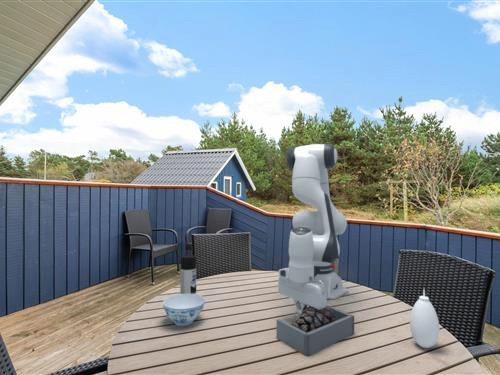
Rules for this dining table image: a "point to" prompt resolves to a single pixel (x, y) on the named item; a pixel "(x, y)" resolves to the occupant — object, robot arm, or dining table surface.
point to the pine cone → (314, 319)
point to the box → (316, 333)
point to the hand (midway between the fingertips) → (301, 313)
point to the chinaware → (183, 308)
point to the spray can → (188, 274)
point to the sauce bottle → (424, 322)
